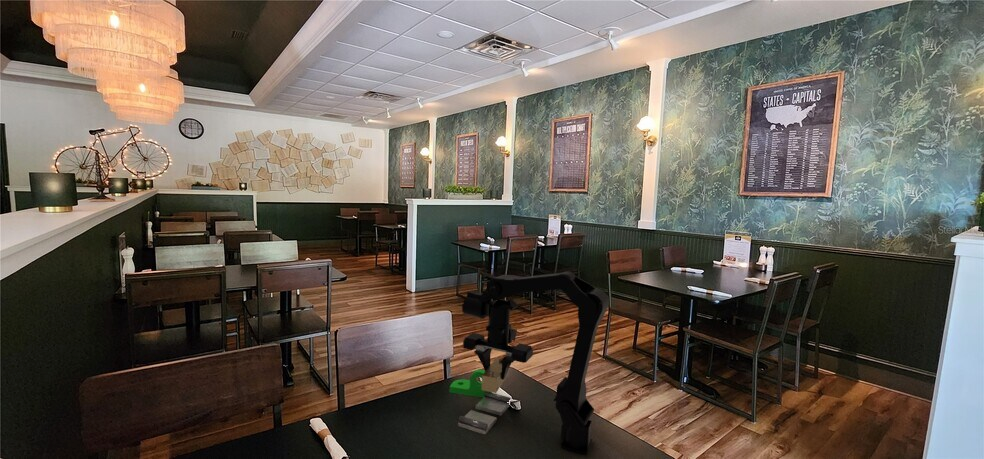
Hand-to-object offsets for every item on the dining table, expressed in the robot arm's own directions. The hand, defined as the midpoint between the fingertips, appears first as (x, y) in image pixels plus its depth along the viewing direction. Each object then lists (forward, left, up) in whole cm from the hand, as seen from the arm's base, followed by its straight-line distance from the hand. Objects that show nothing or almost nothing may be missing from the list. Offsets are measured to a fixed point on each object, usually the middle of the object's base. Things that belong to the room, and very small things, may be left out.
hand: (495, 376), depth 113 cm
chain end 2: (+3, +5, -12) cm, 13 cm away
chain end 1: (+3, -5, -12) cm, 13 cm away
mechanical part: (+13, -10, -12) cm, 20 cm away
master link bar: (0, 0, -1) cm, 1 cm away
